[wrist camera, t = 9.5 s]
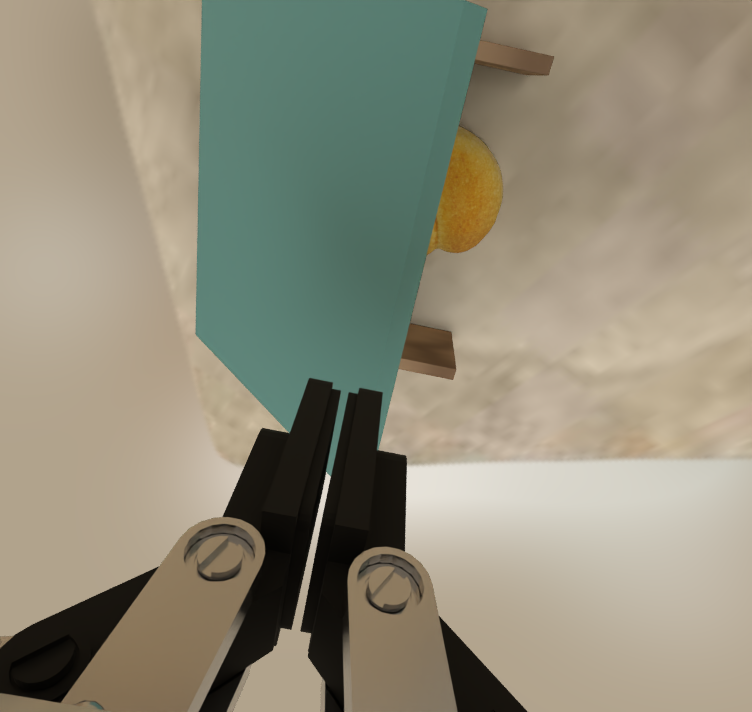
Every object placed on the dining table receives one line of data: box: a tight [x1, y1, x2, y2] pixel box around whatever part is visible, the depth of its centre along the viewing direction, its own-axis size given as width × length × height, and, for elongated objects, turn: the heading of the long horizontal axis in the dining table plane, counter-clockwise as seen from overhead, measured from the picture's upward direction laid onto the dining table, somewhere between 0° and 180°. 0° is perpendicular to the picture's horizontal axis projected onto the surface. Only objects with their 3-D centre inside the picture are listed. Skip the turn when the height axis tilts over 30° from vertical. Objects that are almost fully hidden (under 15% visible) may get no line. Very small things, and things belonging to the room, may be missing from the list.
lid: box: [196, 0, 487, 476], centre depth 23 cm, size 16×19×1 cm
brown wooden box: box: [398, 40, 554, 380], centre depth 31 cm, size 16×19×6 cm
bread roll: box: [427, 126, 503, 255], centre depth 32 cm, size 8×9×4 cm
